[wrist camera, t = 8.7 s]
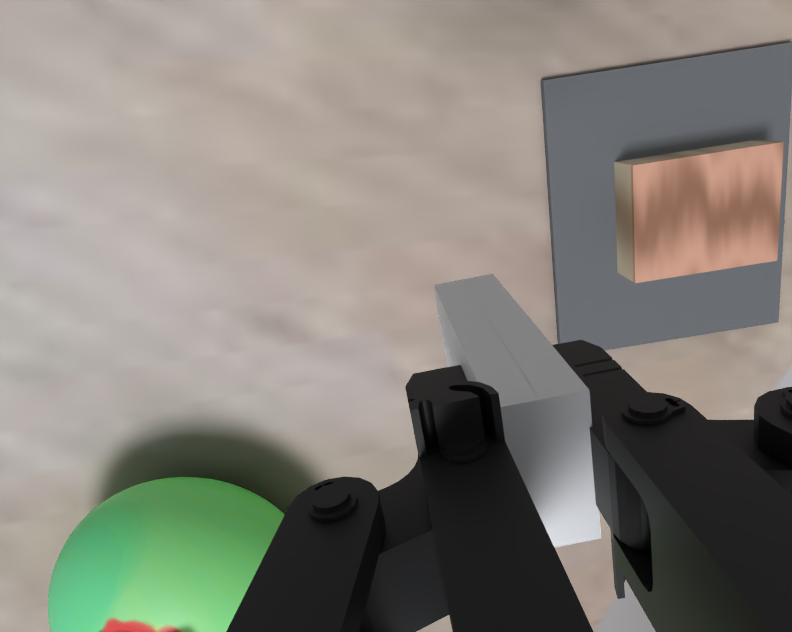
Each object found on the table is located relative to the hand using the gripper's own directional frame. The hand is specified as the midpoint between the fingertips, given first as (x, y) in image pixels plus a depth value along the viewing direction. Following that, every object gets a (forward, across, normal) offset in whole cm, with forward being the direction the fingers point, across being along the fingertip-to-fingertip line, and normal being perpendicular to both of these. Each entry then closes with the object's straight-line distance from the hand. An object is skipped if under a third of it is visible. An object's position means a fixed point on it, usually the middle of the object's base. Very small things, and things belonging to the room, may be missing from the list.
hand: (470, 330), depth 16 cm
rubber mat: (+29, +19, -5) cm, 35 cm away
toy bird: (+29, -20, -25) cm, 43 cm away
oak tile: (+27, +15, -5) cm, 31 cm away
